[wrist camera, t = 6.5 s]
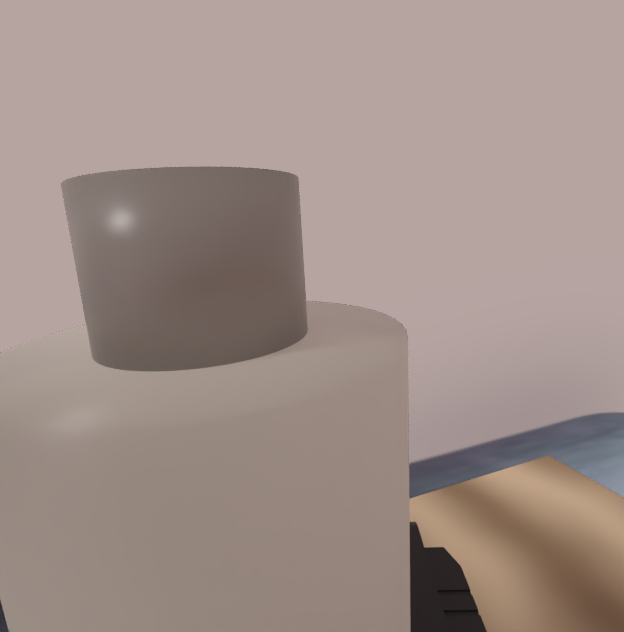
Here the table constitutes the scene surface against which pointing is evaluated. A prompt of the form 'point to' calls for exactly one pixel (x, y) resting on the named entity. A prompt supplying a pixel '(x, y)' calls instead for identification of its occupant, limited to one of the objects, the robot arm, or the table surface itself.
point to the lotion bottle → (203, 426)
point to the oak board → (533, 546)
